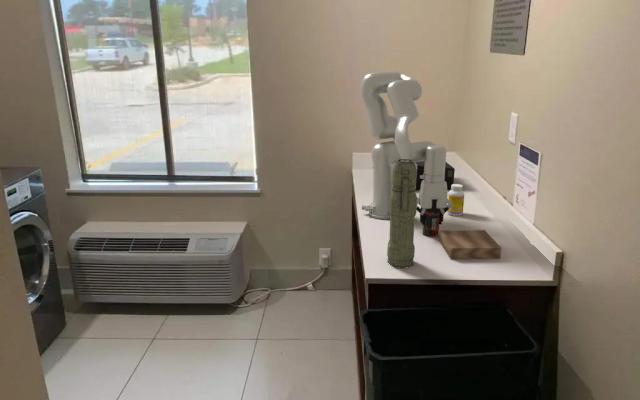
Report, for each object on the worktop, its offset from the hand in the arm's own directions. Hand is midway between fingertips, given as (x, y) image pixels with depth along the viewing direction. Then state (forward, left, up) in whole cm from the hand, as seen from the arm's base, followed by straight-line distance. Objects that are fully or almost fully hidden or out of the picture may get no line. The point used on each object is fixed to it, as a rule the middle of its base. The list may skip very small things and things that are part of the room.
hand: (431, 223), depth 188 cm
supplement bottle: (+16, +24, -5) cm, 29 cm away
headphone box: (+8, +74, -5) cm, 74 cm away
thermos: (-16, -26, -5) cm, 31 cm away
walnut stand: (+10, -15, -5) cm, 19 cm away
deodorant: (0, 0, -5) cm, 5 cm away
